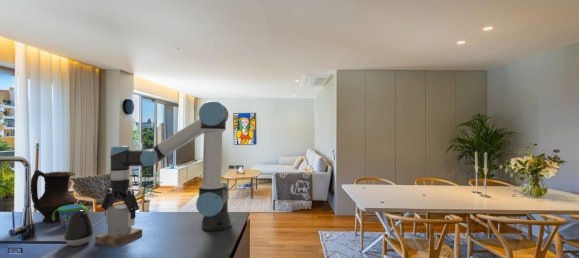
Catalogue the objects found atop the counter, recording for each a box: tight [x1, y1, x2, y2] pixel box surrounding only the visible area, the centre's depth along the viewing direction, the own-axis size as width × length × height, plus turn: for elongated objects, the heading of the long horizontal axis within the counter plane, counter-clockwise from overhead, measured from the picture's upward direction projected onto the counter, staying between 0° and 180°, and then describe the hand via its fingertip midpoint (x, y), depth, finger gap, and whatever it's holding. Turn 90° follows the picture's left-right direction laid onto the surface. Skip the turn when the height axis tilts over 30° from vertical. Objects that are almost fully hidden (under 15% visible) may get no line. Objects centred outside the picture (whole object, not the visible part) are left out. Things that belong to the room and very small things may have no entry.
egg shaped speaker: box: [63, 209, 94, 247], centre depth 119 cm, size 10×10×15 cm
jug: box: [30, 169, 78, 224], centre depth 150 cm, size 21×18×30 cm
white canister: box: [107, 203, 132, 237], centre depth 124 cm, size 10×10×12 cm
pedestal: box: [94, 227, 143, 247], centre depth 123 cm, size 13×13×3 cm
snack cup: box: [52, 203, 90, 228], centre depth 142 cm, size 16×10×10 cm
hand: (119, 224), depth 124 cm, fingers open, 13 cm apart
